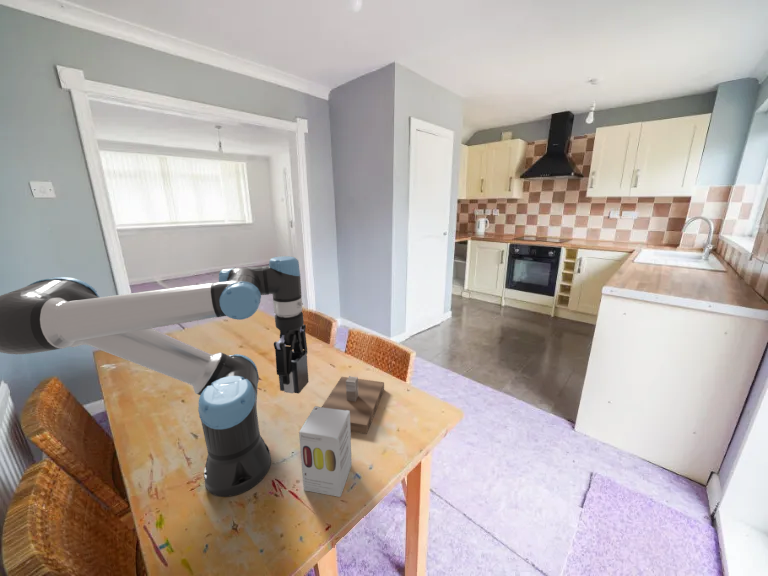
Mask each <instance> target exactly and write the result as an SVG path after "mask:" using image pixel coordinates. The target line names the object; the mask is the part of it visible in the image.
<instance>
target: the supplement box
mask: <svg viewBox="0 0 768 576" xmlns="http://www.w3.org/2000/svg"><path fill="white" fill-rule="evenodd" d="M298 433H299V447H300V448H299V449H300V458H301V459H300V460H301V462H300V463H301V471H302V487H303V491H306V492H312V493H318V494H322V495H328V496H332V497H333V496H335V497H337V498H340V497H341V496H342V495H343V492H344V489H345V486H346V483H347V479H348V478H349V474H350V472H351V468H352V465H353V463H352V431H351V430H350V411H348V410H338V409H330V408H324V407H322V406H316V405H315V406H314V407H313V408H312V410H311V412H309V415H308V417H307V418H306V420H305V422H304V424H303V425H302V426H301V428H300V430H299V432H298Z"/></svg>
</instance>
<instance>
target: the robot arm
mask: <svg viewBox="0 0 768 576" xmlns="http://www.w3.org/2000/svg"><path fill="white" fill-rule="evenodd" d="M268 262H269V263H268V265H264V266H263V265H262V266H249V267H246V266H245V267H232V268H223V269H221V270H220V271H219V273H218V281H217V282H210V283H208V282H207V283H203V284H195V285H185V286H179V287H171V288H161V289H155V290H147V291H139V292H133V293H132V292H131V293H125V294H124V293H123V294H116V295H109V296H101V297H100V296H99V295H98V293H97V289H96V288H94V287H93V286H92V285H90V284H89V283H88V282H86V281H83V280H81V279H79V278H78V279H77V278H75V277H70V276H69V277H67V276H58V277H51V278H45V279H40V280H37V281H34V282H32V283H30V284H28V285H26V286H24V287H22V288H18V289H15V290H13V291H11V292H7V293H4V294H1V295H0V353H1V354H8V355H29V354H30V355H31V354H35V353H43V352H49V351H54V350H55V351H56V350H60V349H61V350H62V349H66V348H69V347H70V348H75V347H79V346H89V347H92V348H95V349H97V350H99V351H102V352H105V353H107V354H110V355H113V356H115V357H118V358H121V359H123V360H126V361H129V362H132V363H133V364H135V365H139V366H141V367H145V368H146V369H149V370H151V371H154V372H156V373H159V374H162V375H164V376H167V377H170V378H172V379H174V380H178V381H181V382H182V383H186V384H187V385H191V386H192V389H193V392H194V394H196V395H198V396H199V398H198V407H197V408H198V409H197V410H198V414H199V418H200V421H201V426H202V430H203V435H204V441H205V445H206V450H207V458H206V462H205V467H204V470H203V480H204V484H205V487H206V489H207V491H208V492H209V493H210V494H212V495H214V496H217V497H225V498H227V497H233V496H237V495H240V494H243V493H245V492H247V491H249V490H250V489H252V488H254V487H255V486H257V485H258V484H259V483H260V482H261V481H262V480H263V478H264V477H265V476H266V475H267V473H268V472H269V470H270V467H271V464H272V457H271V451H270V447H269V446H268V445H267V443H266V442H265V440H264V439H263V437H262V435H261V433H260V424H259V418H258V417H259V416H258V410H257V405H258V386H259V381H260V380H259V377H260V376H259V372H258V367H257V365H256V363H255V361H253V360H252V359H251V358H250V357H248V356H246V355H244V354H240V353H239V354H238V353H237V354H229V355H228V354H226V353H223V352H217V353H209V352H206V351H205V350H202V349H200V348H198V347H195V346H193V345H191V344H189V343H186V342H184V341H181V340H179V339H177V338H174V337H173V336H170V335H168V334H166V333H163V332H161V331H159V330H157V329H155V328H161V327H168V326H173V325H179V324H186V323H193V322H198V321H203V320H209V319H217V318H222V317H223V318H224V317H228V318H230V319H232V320H238V321H239V320H242V321H243V320H245V319H249V318H251V317H252V316H253V315H254V314H255V313H256V312H257V311H258V308H259V306H260V303H261V299H262V296H268V295H272V302H273V303H272V305H273V314H274V322H275V327H276V329H277V330H278V331H279V340H278V341H274V342H273V347H274V351H275V352H274V353H275V366H276V375H277V376H279V375H282V376H283V384H284V391H283V392H284V393H289V394H295V393H294V384H293V373H292V372H291V360H292V351H297V352H307V353H308V345H307V344H308V343H307V335H306V327H307V326H306V324H304V313H303V305H304V304H303V302H302V301H303V298H302V296H303V295H302V282H301V281H302V280H301V270H300V263H299V259H298V258H297V257H294V256H287V255H284V256H283V255H282V256H281V255H280V256H275V257H271V258H270V259H269V261H268Z"/></svg>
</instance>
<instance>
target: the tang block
mask: <svg viewBox="0 0 768 576" xmlns="http://www.w3.org/2000/svg"><path fill="white" fill-rule="evenodd" d="M384 391H385V382H384V381H377V380H370V379H369V380H368V379H362V378H358V376H351V375H349V376H348V377H347V376H340V378H339V380H338V381H337V383H336V385H335V386H334V388H333V389H332V390H331V392H330V394H329V395H328V397H327V398H326V399H325V401H324V403H323V404H322V406H321V407H324V408H330V409H338V410H348V411H350V430H351V432H353V433H354V432H356V433H360V434H365V435H367V434H368V431H369V429H370V427H371V424H372V422H373V419H374V416H375V414H376V411H377V409H378V406H379V404H380V402H381V399H382V396H383V394H384Z"/></svg>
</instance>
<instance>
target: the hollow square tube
mask: <svg viewBox="0 0 768 576" xmlns="http://www.w3.org/2000/svg"><path fill="white" fill-rule="evenodd" d="M307 354H308V351H307V352H297V351H294V350H292V360H291V372H292V373H293V384H294V393H293V394H300V393H301V392H302V391H303V389H304V388H305V387H306V386H307V385H308V383H310V382H309V371H308V370H309V369H308V368H309V367H308V356H307ZM278 382H279V390H280V391H281V392H284V384H283V376H282V375H278Z"/></svg>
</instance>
